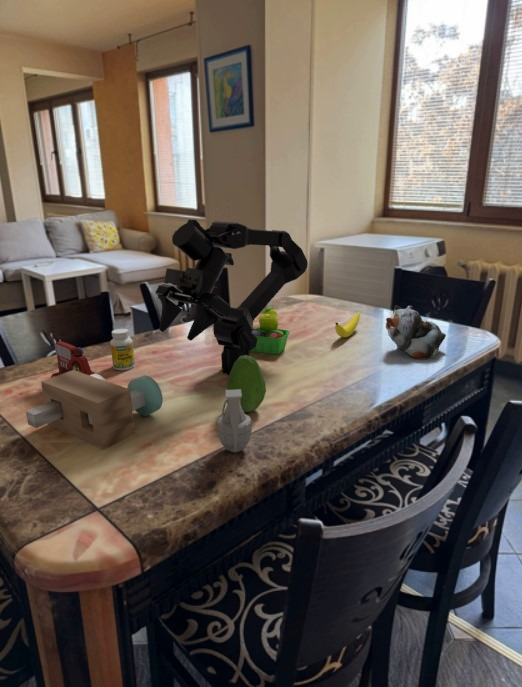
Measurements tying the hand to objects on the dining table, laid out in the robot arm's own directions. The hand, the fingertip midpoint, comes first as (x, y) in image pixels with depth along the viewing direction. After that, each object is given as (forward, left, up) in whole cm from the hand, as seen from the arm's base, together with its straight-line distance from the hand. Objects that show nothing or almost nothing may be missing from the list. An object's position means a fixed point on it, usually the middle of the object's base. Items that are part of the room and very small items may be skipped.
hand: (174, 335), depth 105 cm
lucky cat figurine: (-57, -32, -14) cm, 66 cm away
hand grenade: (-16, +23, -14) cm, 31 cm away
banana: (-40, -45, -14) cm, 62 cm away
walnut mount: (+13, +18, -14) cm, 26 cm away
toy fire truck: (+24, -1, -14) cm, 28 cm away
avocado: (-16, +7, -14) cm, 22 cm away
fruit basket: (-17, -31, -14) cm, 38 cm away
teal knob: (+7, +15, -13) cm, 21 cm away
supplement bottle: (+18, -15, -14) cm, 27 cm away
